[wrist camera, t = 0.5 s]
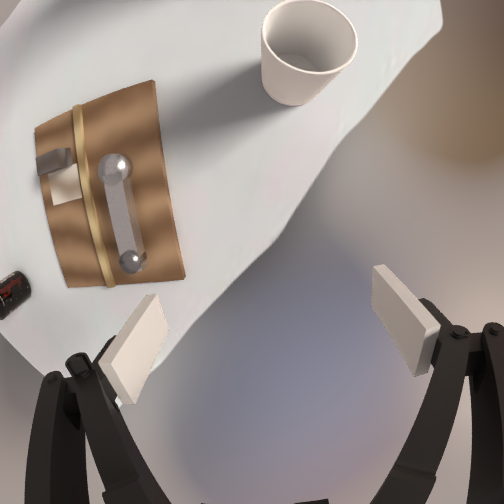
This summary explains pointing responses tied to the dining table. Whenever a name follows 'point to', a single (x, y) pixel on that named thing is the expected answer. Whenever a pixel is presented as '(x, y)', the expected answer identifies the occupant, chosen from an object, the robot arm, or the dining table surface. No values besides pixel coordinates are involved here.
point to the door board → (93, 190)
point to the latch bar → (123, 211)
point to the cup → (304, 49)
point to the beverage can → (13, 293)
